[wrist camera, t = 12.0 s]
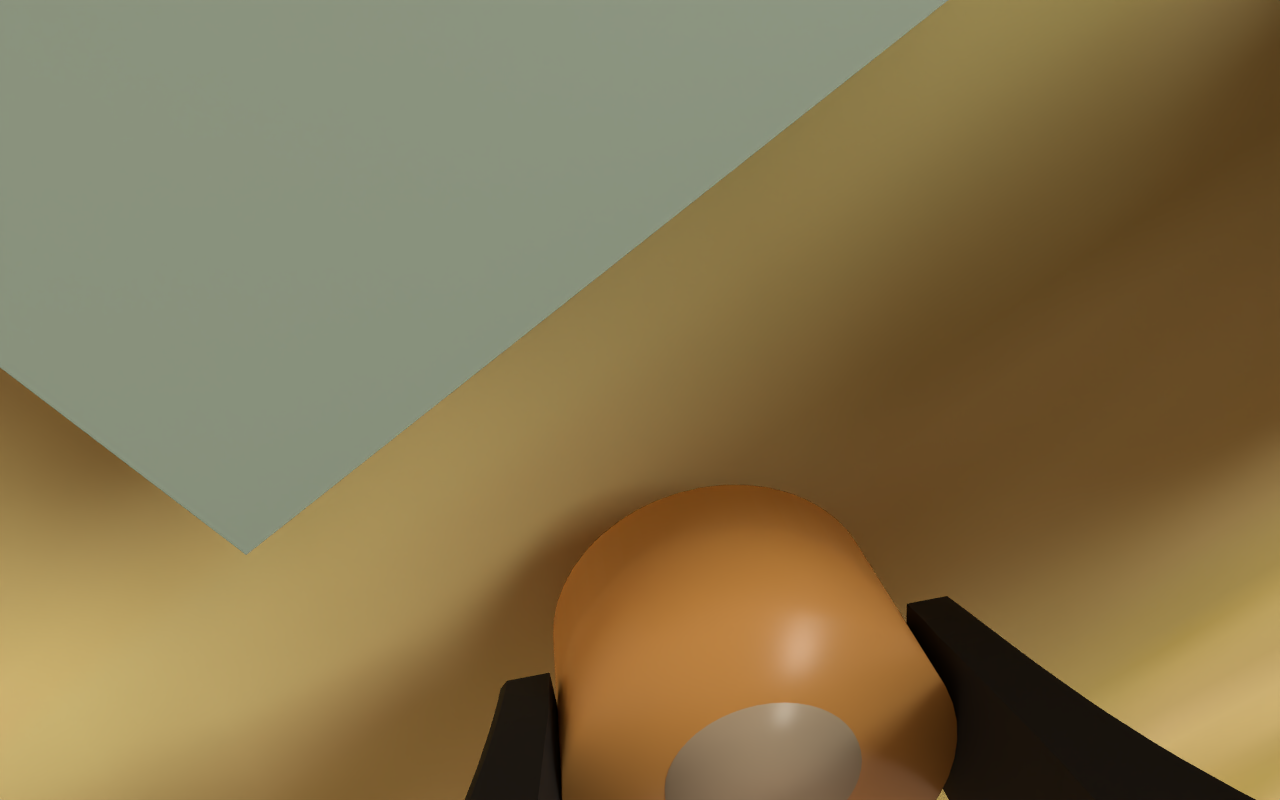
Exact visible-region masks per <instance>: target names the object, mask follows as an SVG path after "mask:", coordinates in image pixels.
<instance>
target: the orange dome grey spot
mask: <svg viewBox="0 0 1280 800" xmlns="http://www.w3.org/2000/svg"><path fill="white" fill-rule="evenodd" d="M553 643H554V661H555V679H556V697H557V713H558V731H559V748H560V769H561V787H562V800H936V799H937V798H938V796H939V795H940V793H941V791H942V789H943V787H944V784H945V782H946V780H947V778H948V776H949V773H950V770H951V767H952V764H953V761H954V757H955V750H956V744H957V720H956V716H955V711H954V706H953V702H952V700H951V698H950V695H949V693H948V691H947V688H946V686H945V685H944V683H943V681H942V680H941V678H940V677H939V675H938V673H937V672H936V670H935V668H934V667H933V665H932V664H931V662H930V660H929V659H928V657H927V656H926V654H925V652H924V651H923V649H922V648H921V646H920V644H919V643H918V641H917V640H916V638H915V636H914V635H913V633H912V632H911V630H910V628H909V627H908V625H907V624H906V622H905V620H904V619H903V617H902V616H901V614H900V612H899V611H898V609H897V608H896V606H895V604H894V603H893V601H892V600H891V598H890V596H889V595H888V593H887V591H886V590H885V588H884V587H883V585H882V583H881V582H880V580H879V579H878V577H877V575H876V574H875V572H874V571H873V569H872V567H871V566H870V564H869V563H868V561H867V559H866V558H865V556H864V555H863V553H862V551H861V550H860V548H859V547H858V545H857V544H856V542H855V541H854V539H853V538H852V536H851V535H850V533H849V532H848V531H847V530H846V529H845V528H844V527H843V526H842V525H841V523H840V522H839V521H838V520H837V519H835V518H834V517H833V516H831V515H830V514H829V513H828V512H826V511H825V510H824V509H822V508H820V507H819V506H817V505H815V504H813V503H811V502H810V501H808V500H806V499H804V498H801V497H798V496H796V495H793V494H791V493H788V492H784V491H780V490H776V489H772V488H768V487H760V486H751V485H719V486H711V487H702V488H697V489H693V490H689V491H684V492H680V493H677V494H674V495H671V496H668V497H665V498H663V499H660V500H657V501H655V502H653V503H651V504H649V505H647V506H644V507H642V508H640V509H638V510H636V511H635V512H633V513H631V514H630V515H628V516H627V517H625V518H623V519H622V520H620V521H619V522H617V523H616V524H615V525H613V526H612V527H611V528H610V529H608V530H607V531H606V532H605V533H604V534H602V535H601V536H600V537H599V538H598V539H597V540H596V541H595V542H594V543H593V544H592V545H591V546H590V547H589V548H588V549H587V550H586V551H585V553H584V554H583V555H582V557H581V558H580V559H579V561H578V562H577V563H576V565H575V566H574V567H573V569H572V571H571V573H570V575H569V576H568V578H567V580H566V582H565V584H564V586H563V588H562V591H561V594H560V597H559V599H558V602H557V606H556V611H555V616H554V628H553Z"/></svg>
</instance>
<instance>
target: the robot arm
mask: <svg viewBox="0 0 1280 800" xmlns="http://www.w3.org/2000/svg"><path fill="white" fill-rule="evenodd" d="M907 625H908V627H909V628H910V630H911V632H912V633H913V635H914V636H915V638H916V640H917V641H918V643H919V644H920V646H921V648H922V649H923V651H924V652H925V654H926V656H927V657H928V659H929V660H930V662H931V664H932V665H933V667H934V668H935V670H936V672H937V673H938V675H939V677H940V678H941V680H942V681H943V683H944V685H945V686H946V688H947V691H948V693H949V695H950V698H951V700H952V702H953V706H954V711H955V716H956V720H957V744H956V750H955V757H954V761H953V764H952V767H951V770H950V773H949V776H948V778H947V780H946V782H945V784H944V787H943V790H944V792H945V794H946V795H947V797H948V799H949V800H1255V799H1253V798H1251V797H1250V796H1248V795H1246V794H1244V793H1242V792H1240V791H1238V790H1236V789H1234V788H1233V787H1231V786H1229V785H1227V784H1225V783H1224V782H1222V781H1220V780H1218V779H1216V778H1215V777H1213V776H1211V775H1209V774H1208V773H1206V772H1204V771H1202V770H1200V769H1199V768H1197V767H1195V766H1193V765H1191V764H1190V763H1188V762H1186V761H1184V760H1182V759H1181V758H1179V757H1177V756H1176V755H1174V754H1172V753H1171V752H1169V751H1167V750H1166V749H1164V748H1162V747H1161V746H1159V745H1157V744H1156V743H1154V742H1152V741H1151V740H1149V739H1148V738H1146V737H1144V736H1143V735H1141V734H1140V733H1138V732H1137V731H1135V730H1133V729H1132V728H1130V727H1129V726H1127V725H1126V724H1124V723H1122V722H1121V721H1119V720H1118V719H1116V718H1115V717H1113V716H1111V715H1110V714H1108V713H1107V712H1105V711H1104V710H1102V709H1101V708H1099V707H1098V706H1096V705H1095V704H1093V703H1092V702H1090V701H1089V700H1088V699H1086V698H1085V697H1083V696H1082V695H1080V694H1079V693H1078V692H1076V691H1075V690H1073V689H1072V688H1070V687H1069V686H1068V685H1066V684H1065V683H1063V682H1062V681H1061V680H1059V679H1058V678H1056V677H1055V676H1053V675H1052V674H1051V673H1049V672H1048V671H1046V670H1045V669H1044V668H1042V667H1041V666H1040V665H1038V664H1037V663H1035V662H1034V661H1033V660H1031V659H1030V658H1029V657H1027V656H1026V655H1025V654H1023V653H1022V652H1021V651H1019V650H1018V649H1017V648H1015V647H1014V646H1013V645H1011V644H1010V643H1009V642H1007V641H1006V640H1005V639H1003V638H1002V637H1001V636H999V635H998V634H997V633H995V632H994V631H993V630H991V629H990V628H989V627H987V626H986V625H985V624H983V623H982V622H981V621H979V620H978V619H977V618H975V617H974V616H973V615H972V614H970V613H969V612H968V611H966V610H965V609H964V608H962V607H961V606H960V605H958V604H957V603H956V602H954V601H953V600H951V599H950V598H949V597H947V596H945V597H940V598H935V599H930V600H925V601H919V602H914V603H909V604H907ZM465 800H562V787H561V769H560V748H559V731H558V713H557V703H556V699H555V694H554V690H553V686H552V681H551V677H550V673H546V674H541V675H535V676H530V677H525V678H520V679H515V680H509V681H507V682H506V683H505V684H504V685H503V687H502V688H501V690H500V695H499V699H498V703H497V707H496V710H495V714H494V718H493V721H492V724H491V728H490V731H489V734H488V737H487V740H486V743H485V746H484V749H483V752H482V755H481V758H480V761H479V764H478V767H477V770H476V772H475V775H474V777H473V780H472V783H471V785H470V788H469V790H468V793H467V796H466V798H465Z"/></svg>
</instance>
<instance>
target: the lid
mask: <svg viewBox="0 0 1280 800" xmlns="http://www.w3.org/2000/svg"><path fill="white" fill-rule="evenodd" d="M946 1H948V0H0V368H1V369H3V370H4V371H5V372H7V373H8V374H9V375H11V376H12V377H13V378H15V379H16V380H17V381H19V382H20V383H21V384H22V385H24V386H25V387H26V388H28V389H29V390H30V391H32V392H33V393H34V394H36V395H37V396H38V397H40V398H41V399H42V400H43V401H45V402H46V403H47V404H49V405H50V406H51V407H53V408H54V409H55V410H57V411H58V412H59V413H61V414H62V415H63V416H65V417H66V418H67V419H68V420H70V421H71V422H72V423H74V424H75V425H76V426H78V427H79V428H80V429H82V430H83V431H84V432H86V433H87V434H88V435H89V436H91V437H92V438H93V439H95V440H96V441H97V442H99V443H100V444H101V445H103V446H104V447H105V448H107V449H108V450H109V451H110V452H112V453H113V454H114V455H116V456H117V457H118V458H120V459H121V460H122V461H124V462H125V463H126V464H128V465H129V466H130V467H131V468H133V469H134V470H135V471H137V472H138V473H139V474H141V475H142V476H143V477H145V478H146V479H147V480H149V481H150V482H151V483H152V484H154V485H155V486H156V487H158V488H159V489H160V490H162V491H163V492H164V493H166V494H167V495H168V496H170V497H171V498H172V499H173V500H175V501H176V502H177V503H179V504H180V505H181V506H183V507H184V508H185V509H187V510H188V511H189V512H191V513H192V514H193V515H195V516H196V517H197V518H198V519H200V520H201V521H202V522H204V523H205V524H206V525H208V526H209V527H210V528H212V529H213V530H214V531H216V532H217V533H218V534H219V535H221V536H222V537H223V538H225V539H226V540H227V541H229V542H230V543H231V544H233V545H234V546H235V547H237V548H238V549H239V550H240V551H242V552H243V553H244V554H246V555H247V554H248V553H249V552H250V551H252V550H253V549H254V548H256V547H257V546H258V545H259V544H261V543H262V542H263V541H264V540H266V539H267V538H268V537H269V536H271V535H272V534H273V533H275V532H276V531H277V530H278V529H280V528H281V527H282V526H283V525H285V524H286V523H287V522H288V521H290V520H291V519H292V518H294V517H295V516H296V515H297V514H299V513H300V512H301V511H302V510H304V509H305V508H306V507H307V506H309V505H310V504H311V503H312V502H314V501H315V500H316V499H318V498H319V497H320V496H321V495H323V494H324V493H325V492H326V491H328V490H329V489H330V488H331V487H333V486H334V485H335V484H337V483H338V482H339V481H340V480H342V479H343V478H344V477H345V476H347V475H348V474H349V473H350V472H352V471H353V470H354V469H356V468H357V467H358V466H359V465H361V464H362V463H363V462H364V461H366V460H367V459H368V458H369V457H371V456H372V455H373V454H374V453H376V452H377V451H378V450H380V449H381V448H382V447H383V446H385V445H386V444H387V443H388V442H390V441H391V440H392V439H393V438H395V437H396V436H397V435H399V434H400V433H401V432H402V431H404V430H405V429H406V428H407V427H409V426H410V425H411V424H412V423H414V422H415V421H416V420H417V419H419V418H420V417H421V416H423V415H424V414H425V413H426V412H428V411H429V410H430V409H431V408H433V407H434V406H435V405H436V404H438V403H439V402H440V401H442V400H443V399H444V398H445V397H447V396H448V395H449V394H450V393H452V392H453V391H454V390H455V389H457V388H458V387H459V386H461V385H462V384H463V383H464V382H466V381H467V380H468V379H469V378H471V377H472V376H473V375H474V374H476V373H477V372H478V371H479V370H481V369H482V368H483V367H485V366H486V365H487V364H488V363H490V362H491V361H492V360H493V359H495V358H496V357H497V356H498V355H500V354H501V353H502V352H504V351H505V350H506V349H507V348H509V347H510V346H511V345H512V344H514V343H515V342H516V341H517V340H519V339H520V338H521V337H523V336H524V335H525V334H526V333H528V332H529V331H530V330H531V329H533V328H534V327H535V326H536V325H538V324H539V323H540V322H541V321H543V320H544V319H545V318H547V317H548V316H549V315H550V314H552V313H553V312H554V311H555V310H557V309H558V308H559V307H560V306H562V305H563V304H564V303H566V302H567V301H568V300H569V299H571V298H572V297H573V296H574V295H576V294H577V293H578V292H579V291H581V290H582V289H583V288H584V287H586V286H587V285H588V284H590V283H591V282H592V281H593V280H595V279H596V278H597V277H598V276H600V275H601V274H602V273H603V272H605V271H606V270H607V269H609V268H610V267H611V266H612V265H614V264H615V263H616V262H617V261H619V260H620V259H621V258H622V257H624V256H625V255H626V254H628V253H629V252H630V251H631V250H633V249H634V248H635V247H636V246H638V245H639V244H640V243H641V242H643V241H644V240H645V239H646V238H648V237H649V236H650V235H652V234H653V233H654V232H655V231H657V230H658V229H659V228H660V227H662V226H663V225H664V224H665V223H667V222H668V221H669V220H671V219H672V218H673V217H674V216H676V215H677V214H678V213H679V212H681V211H682V210H683V209H684V208H686V207H687V206H688V205H690V204H691V203H692V202H693V201H695V200H696V199H697V198H698V197H700V196H701V195H702V194H703V193H705V192H706V191H707V190H708V189H710V188H711V187H712V186H714V185H715V184H716V183H717V182H719V181H720V180H721V179H722V178H724V177H725V176H726V175H727V174H729V173H730V172H731V171H733V170H734V169H735V168H736V167H738V166H739V165H740V164H741V163H743V162H744V161H745V160H746V159H748V158H749V157H750V156H751V155H753V154H754V153H755V152H757V151H758V150H759V149H760V148H762V147H763V146H764V145H765V144H767V143H768V142H769V141H770V140H772V139H773V138H774V137H776V136H777V135H778V134H779V133H781V132H782V131H783V130H784V129H786V128H787V127H788V126H789V125H791V124H792V123H793V122H795V121H796V120H797V119H798V118H800V117H801V116H802V115H803V114H805V113H806V112H807V111H808V110H810V109H811V108H812V107H813V106H815V105H816V104H817V103H819V102H820V101H821V100H822V99H824V98H825V97H826V96H827V95H829V94H830V93H831V92H832V91H834V90H835V89H836V88H838V87H839V86H840V85H841V84H843V83H844V82H845V81H846V80H848V79H849V78H850V77H851V76H853V75H854V74H855V73H857V72H858V71H859V70H860V69H862V68H863V67H864V66H865V65H867V64H868V63H869V62H870V61H872V60H873V59H874V58H875V57H877V56H878V55H879V54H881V53H882V52H883V51H884V50H886V49H887V48H888V47H889V46H891V45H892V44H893V43H894V42H896V41H897V40H898V39H900V38H901V37H902V36H903V35H905V34H906V33H907V32H908V31H910V30H911V29H912V28H913V27H915V26H916V25H917V24H918V23H920V22H921V21H922V20H924V19H925V18H926V17H927V16H929V15H930V14H931V13H932V12H934V11H935V10H936V9H937V8H939V7H940V6H941V5H943V4H944V3H945V2H946Z"/></svg>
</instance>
